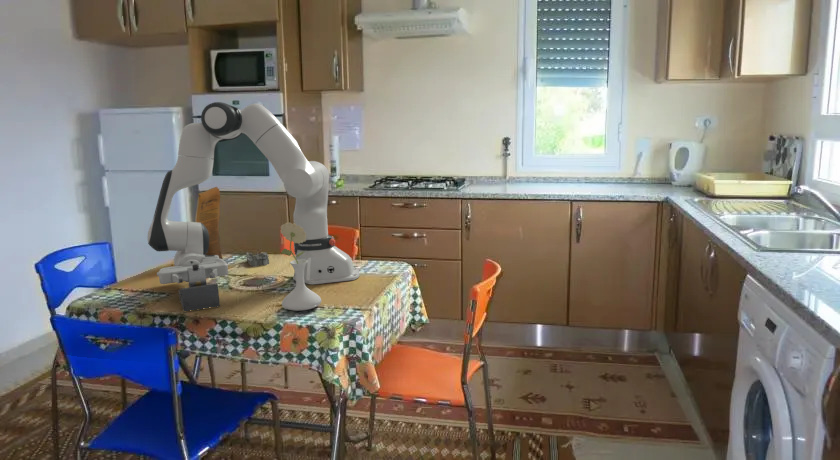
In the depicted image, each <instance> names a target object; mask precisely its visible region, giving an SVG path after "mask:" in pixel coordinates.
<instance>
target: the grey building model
mask: <svg viewBox="0 0 840 460" xmlns="http://www.w3.org/2000/svg"><path fill="white" fill-rule="evenodd" d="M269 257H270V256H269V254H268V253H267V251H265V252H260V253H255V255H253V253H252V252H248V251H246V261H247V263H248V264H249V265H250V267H256V268H257V267H259V266H267V265H269V264H270V261H269V259H270V258H269Z"/></svg>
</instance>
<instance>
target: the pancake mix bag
mask: <svg viewBox="0 0 840 460" xmlns="http://www.w3.org/2000/svg"><path fill="white" fill-rule="evenodd" d="M220 191H221V190H220V189H219V188H218V186H215V187H212V188H209V189H207V190H205V191H202V192H199V193H198V196H197V201H196V209H195V221H194V222H199V223H202V224H203V225H204V226H205V227H206V228H207V230H208V233H209V249H208V252H207V253H206V255H218V256H219V258H220V259H223V254H222V246H221V237H220V230H219V228H220V227H219V226H220V223H219V222H220V217H221V212H220V211H221V209H220V206H221V205H220V204H221V192H220Z"/></svg>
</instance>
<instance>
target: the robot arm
mask: <svg viewBox="0 0 840 460" xmlns="http://www.w3.org/2000/svg"><path fill="white" fill-rule="evenodd" d="M200 121H201V122H192V123H189V124H186V125H185V126H184V127H183V129H182V132H181V135H180V140H179V144H178V152H177V161H176V164H175V165H174V166H173V168H172V169H171V170H168V171H167V172H166V173H165V175H164V178H163V180H162V185H161V187H160V191H159V195H158V199H157V203H156V207H155V210H154V215H153V219H152V220H151V221H152V222H151V224H150V226H149V228H148V231H147V236H146V237H147V244H148V245H149V246H150V248H152V249H153V250H155V251H156V252H170V251H171V252H172V251H173V252H176V253H175V254H174V258H173V264H174V266H166V267H162V268H160V269H159V270H158V271H157V272H156V275H157V277H159V278H158V279H159V284H161V285H165V284H166V285H167V284H174V283H177V284H180V283H183V282H186V283H189V281H188V272H187V268H193V266H192V265H195V264H199V267H200V266H203V267H204V269H205V273H206V279H215V278H217V277H224V276H225V277H226V276H227V275H229V267H228V263H227V262H226V261H225V260H224V259H223V258H222V259H220V258H219V256H218V255H206V253H207V252H208V249H209V233H208V230H207V228H206V227H205V226H204V225H203V224H202V223H199V222H195V221H178V220H177V221H175V220H169V219H168V216H169V214H170V213H169V212H170V209H171V205H172V201H173V198H174V195H175V194H177V192H179V191H181V190H184V189H185V188H189V187H193V186H197V185H200V184H202V183H204V182H205V181H207V180H208V179H209V178H210V177H211V175H212V173H213V170H214V169H213V168H214V163H215V162H214V161H215V160H214V159H215V148H216V145H217V143H222V142H227V141H231V140H235V139H238V138H239V137H241V136H242V134H244V135H246V136H247V137H248V138H249V139H250V141H252V143H253V144H254V145H255V146H256V148H258V150H259V151H260V152H261V154H263V155H264V156H265V158H266V159H267V160H268V161H269V163H270V164H271V165H272V167H273V168H274V170H275V172H276V173H277V175H278V177H279V179H280V180H281V182H282V183H283V187H284V190H285V191H286V193H287V194H288V195H289V196H290V197H293V198H295V205H294V211H293V214H292V215H293V223H295V224H296V225H297V226H300V227H301V228H303V229H304V230H303V231H304V232H306V235H307V236H306V239H305V240H306V241H305V242H303V243H300V244H298V243H294V242H293V251H294V252H293V253H294V255H295V258H296V259H297V260H307V261H308V262H307V263H306V265H305V268H304V283H305V284H308V285H320V284H329V283H338V282H347V281H354V280H356V279H358V278H359V277H360V275H361V274H360V273H361V272H360V270H359V268H357V267H354V265H353V261H352V258H351V257H350V255H349V254H348V253H346V252H345V251H343V250H342V249H340V248H338V247H337V246H336V239H335V237H334V236H333V235H329V230H328V229H329V227H328V201H329V183H330V171H329V169H328V168H327V167H326V166H325V164H323V163H321V162H319V161H316V160H310V161H309V160H308V159H307V158H306V156H305V155H304V153H303V151H302V150H301V148H300V146H299V143H298V141H297V140H296V138H295V137H294V135H292V134H291V133H290V131H288V129H287V128H286V127H285V125H284V124H283V123H282V122H281V121H280V120H279V118H277V117H276V116H275V115H274V114H273V113H272V112H271V111H270V110H269V109H268V108H266V106H264V105H262V104H260V103H257V102H256V103H251V104H249V105H247V106H245V107H243V108H242V109H239V108H238V107H236V106H234V105H231V104H228V103H225V102H221V101H214V102H212V103H211V102H210V103H208V104H207V105H206V106H205V107H204V108H203V109H202V112H201V115H200ZM303 251H305V252H304V253H303V254H302V255H300V256H298V257H296V256H297V255H298V254H299V253H301V252H303ZM292 279H293V280H294V281H295V282H296V275H295V271H294V272H293V277H292Z"/></svg>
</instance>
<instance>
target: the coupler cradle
mask: <svg viewBox="0 0 840 460" xmlns="http://www.w3.org/2000/svg"><path fill="white" fill-rule="evenodd" d="M178 296H179V299H178V300H179V302H180V301H181V302H180V304H182V305H181V308H182V307H183V308H182V311H183V310H184V311H190V310H197V309H203V308H209V307H216V308H218V307H217V306H220V307H221V303H220V294H219V284H218V283H211V284H207V285H203V286H196V287H189V286H188V287H184V288H183V287H182V288H180V289H178ZM209 309H210V308H209ZM203 310H204V309H203ZM184 311H183V312H184ZM197 311H198V310H197Z"/></svg>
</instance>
